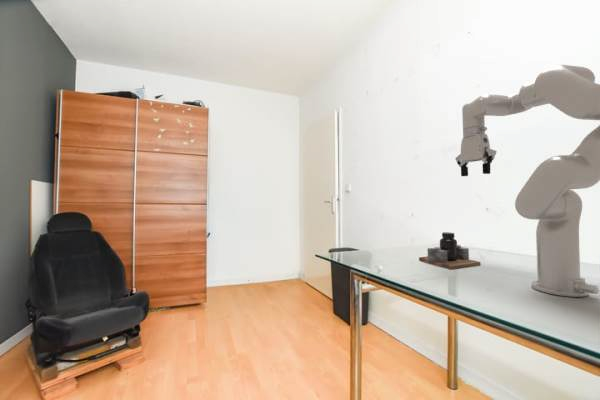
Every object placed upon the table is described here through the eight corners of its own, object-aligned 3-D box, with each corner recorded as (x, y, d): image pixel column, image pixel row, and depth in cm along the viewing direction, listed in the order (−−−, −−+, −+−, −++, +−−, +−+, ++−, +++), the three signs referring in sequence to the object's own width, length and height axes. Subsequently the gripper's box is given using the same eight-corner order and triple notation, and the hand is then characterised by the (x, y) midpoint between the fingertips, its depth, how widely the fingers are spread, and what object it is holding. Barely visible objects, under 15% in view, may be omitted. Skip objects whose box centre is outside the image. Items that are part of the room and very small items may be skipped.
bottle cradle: (480, 265, 114) (479, 247, 114) (451, 269, 109) (450, 251, 109) (445, 257, 131) (445, 242, 131) (419, 260, 126) (418, 244, 126)
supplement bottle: (441, 261, 118) (441, 233, 118) (438, 257, 124) (437, 231, 124) (459, 261, 116) (458, 233, 116) (454, 258, 122) (454, 231, 122)
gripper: (501, 128, 103) (503, 172, 103) (462, 138, 119) (463, 176, 119) (487, 127, 100) (488, 172, 100) (449, 137, 117) (450, 177, 117)
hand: (475, 174), depth 110 cm, fingers open, 9 cm apart
